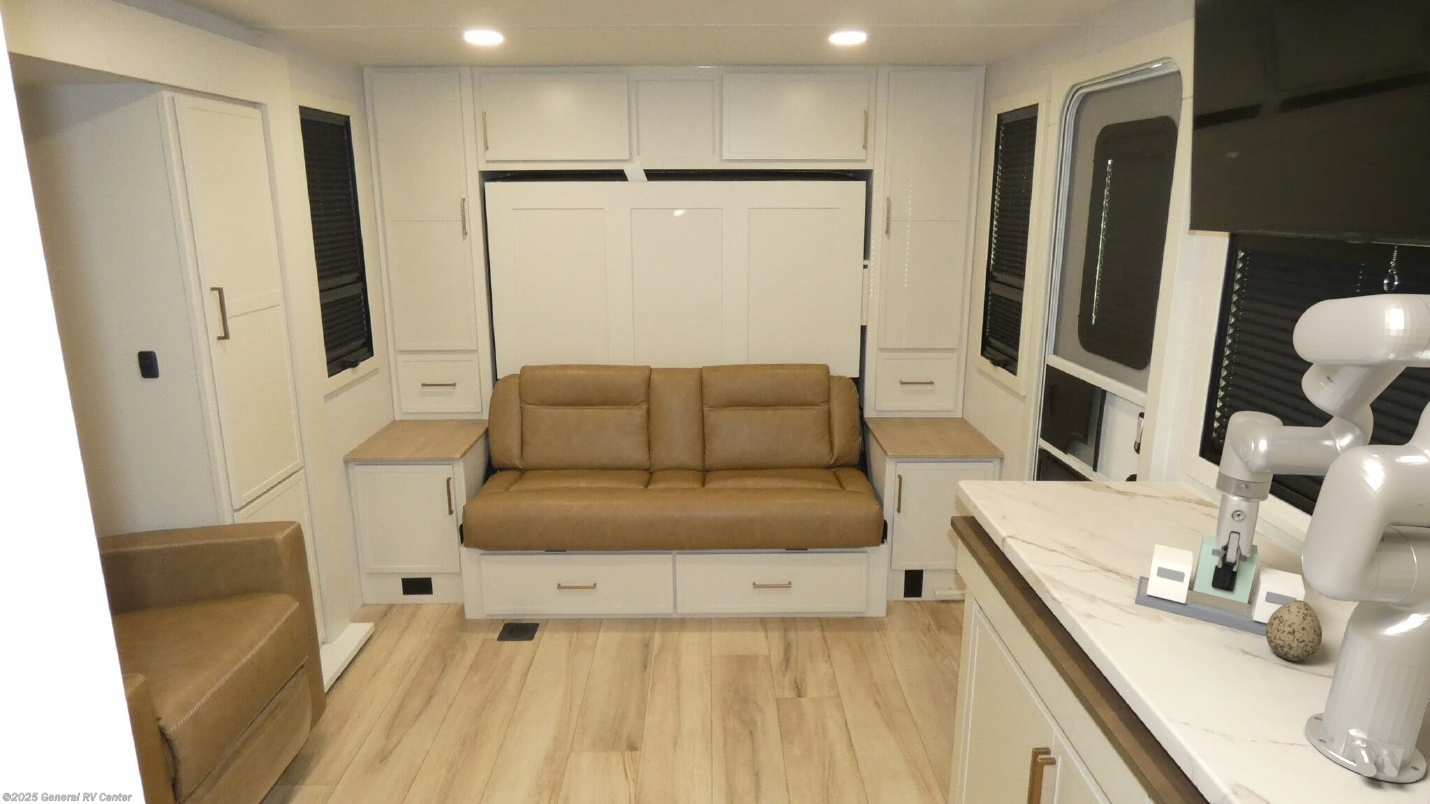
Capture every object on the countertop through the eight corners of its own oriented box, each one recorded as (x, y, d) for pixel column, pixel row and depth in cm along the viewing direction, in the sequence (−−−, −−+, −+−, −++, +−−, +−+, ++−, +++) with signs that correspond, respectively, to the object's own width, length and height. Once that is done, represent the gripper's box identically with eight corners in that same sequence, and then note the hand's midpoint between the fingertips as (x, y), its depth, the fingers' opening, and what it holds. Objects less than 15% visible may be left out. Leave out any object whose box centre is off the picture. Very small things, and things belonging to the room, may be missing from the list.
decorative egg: (1279, 641, 132) (1292, 586, 129) (1325, 665, 126) (1340, 607, 123) (1250, 650, 129) (1263, 594, 126) (1296, 675, 123) (1311, 616, 120)
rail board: (1305, 646, 131) (1317, 598, 128) (1134, 603, 143) (1142, 559, 141) (1300, 619, 139) (1311, 574, 137) (1139, 580, 151) (1146, 539, 149)
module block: (1247, 604, 136) (1258, 555, 134) (1193, 591, 140) (1202, 544, 138) (1246, 592, 140) (1257, 545, 138) (1193, 580, 144) (1203, 534, 142)
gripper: (1272, 506, 126) (1249, 610, 131) (1266, 474, 140) (1245, 569, 145) (1216, 496, 130) (1196, 597, 135) (1216, 466, 144) (1197, 558, 149)
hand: (1222, 581), depth 140 cm, fingers closed on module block, 4 cm apart
